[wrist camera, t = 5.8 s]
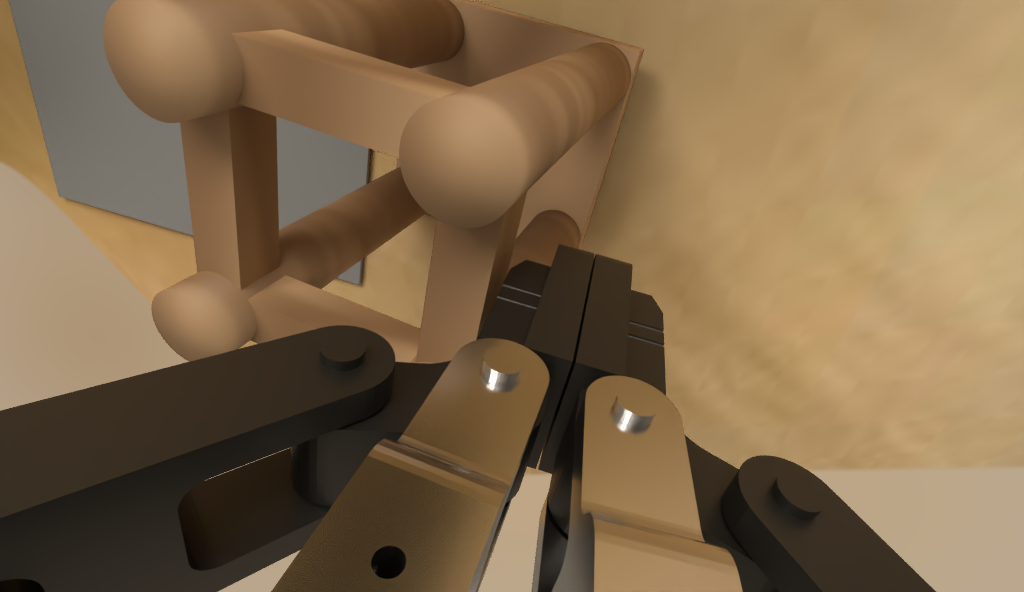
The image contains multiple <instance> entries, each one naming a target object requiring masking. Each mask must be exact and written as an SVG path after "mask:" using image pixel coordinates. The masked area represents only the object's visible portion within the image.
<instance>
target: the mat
mask: <svg viewBox="0 0 1024 592" xmlns="http://www.w3.org/2000/svg"><path fill="white" fill-rule="evenodd" d="M115 1H117V0H9V4H10V7H11V11H12V15H13V19H14V23H15V27H16V31H17V35H18V39H19V42H20V46H21V50H22V54H23V58H24V62H25V66H26V70H27V73H28V77H29V81H30V85H31V89H32V93H33V97H34V101H35V105H36V108H37V112H38V116H39V120H40V124H41V128H42V132H43V136H44V140H45V143H46V147H47V151H48V155H49V159H50V163H51V167H52V171H53V174H54V178H55V182H56V186H57V190H58V194H59V196H60V197H63V198H67V199H70V200H74V201H77V202H80V203H84V204H87V205H90V206H94V207H97V208H101V209H104V210H107V211H111V212H114V213H118V214H121V215H124V216H128V217H131V218H134V219H138V220H141V221H145V222H148V223H151V224H155V225H158V226H161V227H165V228H168V229H172V230H175V231H178V232H182V233H185V234H189V235H192V236H193V230H192V221H191V213H190V204H189V196H188V187H187V179H186V170H185V162H184V153H183V145H182V136H181V127H180V122H178V123H164V122H161V121H158V120H156V119H153V118H152V117H150V116H148V115H147V114H145V113H144V112H142V111H141V110H140V109H139V108H138V107H137V106H135V104H134V103H133V102H132V101H131V100H130V99H129V98H128V97H127V95H126V94H125V93H124V91H123V90H122V88H121V87H120V85H119V84H118V82H117V80H116V78H115V76H114V74H113V72H112V70H111V68H110V65H109V62H108V59H107V56H106V52H105V47H104V40H103V27H104V21H105V17H106V14H107V11H108V10H109V8H110V6H111V5H112V4H113V3H114V2H115ZM276 120H277V166H278V211H279V230H280V229H282V228H284V227H286V226H288V225H290V224H291V223H293V222H295V221H297V220H299V219H301V218H303V217H305V216H307V215H309V214H311V213H312V212H314V211H316V210H318V209H320V208H322V207H324V206H326V205H328V204H330V203H332V202H334V201H335V200H337V199H339V198H341V197H343V196H345V195H347V194H349V193H351V192H353V191H355V190H356V189H358V188H360V187H362V186H364V185H366V184H368V179H369V165H370V151H371V149H370V148H367V147H364V146H361V145H358V144H355V143H352V142H349V141H346V140H343V139H340V138H338V137H335V136H332V135H329V134H326V133H323V132H320V131H317V130H314V129H311V128H308V127H305V126H302V125H299V124H297V123H294V122H291V121H288V120H285V119H282V118H279V117H276ZM362 265H363V259H362V260H360V261H359V262H358V263H356V264H355V265H353V266H352V267H351V268H349V269H348V270H347V271H345V272H344V273H342V274H341V275H340V276H338V277H337V279H341V280H344V281H348V282H351V283H354V284H358V285H360V284H361V279H362Z"/></svg>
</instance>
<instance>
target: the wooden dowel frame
mask: <svg viewBox="0 0 1024 592" xmlns="http://www.w3.org/2000/svg"><path fill="white" fill-rule="evenodd" d="M103 40H104V47H105V52H106V56H107V59H108V62H109V65H110V68H111V70H112V72H113V74H114V76H115V78H116V80H117V82H118V84H119V85H120V87H121V88H122V90H123V91H124V93H125V94H126V95H127V97H128V98H129V99H130V100H131V101H132V102H133V103H134V104H135V106H137V107H138V108H139V109H140V110H141V111H142V112H144V113H145V114H147V115H148V116H150V117H152V118H153V119H156V120H158V121H161V122H164V123H178V122H180V127H181V136H182V145H183V153H184V162H185V170H186V179H187V187H188V196H189V204H190V213H191V221H192V230H193V238H194V247H195V255H196V264H197V272H198V273H196V274H194V275H192V276H190V277H188V278H186V279H184V280H182V281H181V282H179V283H177V284H175V285H173V286H171V287H169V288H167V289H165V290H163V291H161V292H160V293H158V294H157V295H156V296H155V297H154V299H153V301H152V316H153V320H154V322H155V325H156V327H157V329H158V331H159V333H160V334H161V336H162V337H163V339H164V340H165V341H166V343H168V345H169V346H170V347H171V348H172V349H173V350H174V351H175V352H176V353H178V354H179V355H180V356H181V357H183V358H184V359H186V360H188V361H189V362H191V361H195V360H198V359H202V358H206V357H210V356H214V355H218V354H222V353H225V352H229V351H233V350H237V349H239V348H240V347H241V346H243V345H244V344H245V343H247V342H248V341H250V340H251V341H253V342H256V343H258V344H260V343H264V342H268V341H272V340H276V339H279V338H283V337H287V336H291V335H295V334H299V333H303V332H306V331H310V330H314V329H318V328H322V327H327V326H335V325H349V326H357V327H361V328H365V329H368V330H371V331H373V332H375V333H377V334H379V335H380V336H382V337H383V338H385V339H386V340H387V341H388V342H389V343H390V345H391V346H392V348H393V350H394V353H395V359H396V360H395V362H409V363H427V364H432V363H441V362H446V361H450V360H452V359H453V358H454V356H455V354H456V353H457V352H458V351H459V349H460V348H461V347H463V346H464V345H466V344H468V343H470V342H472V341H475V340H476V339H477V337H478V335H479V333H480V331H481V329H482V327H483V325H484V322H485V320H486V318H487V316H488V314H489V312H490V310H491V308H492V306H493V304H494V301H495V299H496V298H497V296H498V293H499V291H500V289H501V287H502V286H503V283H504V281H505V278H506V276H507V274H508V272H509V270H510V269H511V268H512V267H514V266H516V265H518V264H519V263H521V262H523V261H525V260H530V261H533V262H536V263H540V264H543V265H547V266H550V267H551V265H552V262H553V260H554V257H555V254H556V251H557V248H558V245H559V244H562V245H566V246H569V247H573V248H576V249H580V250H581V246H582V243H583V240H584V237H585V234H586V231H587V227H588V224H589V221H590V218H591V215H592V212H593V209H594V205H595V202H596V199H597V196H598V193H599V190H600V187H601V183H602V180H603V177H604V174H605V171H606V168H607V165H608V161H609V158H610V155H611V152H612V149H613V146H614V142H615V139H616V136H617V133H618V130H619V127H620V124H621V120H622V117H623V114H624V111H625V108H626V105H627V102H628V98H629V95H630V92H631V89H632V86H633V83H634V79H635V76H636V73H637V70H638V67H639V64H640V61H641V57H642V54H643V51H644V49H642V48H638V47H635V46H631V45H628V44H624V43H620V42H617V41H613V40H610V39H606V38H602V37H599V36H595V35H592V34H588V33H584V32H581V31H577V30H574V29H570V28H566V27H563V26H559V25H556V24H552V23H549V22H545V21H541V20H538V19H534V18H531V17H527V16H523V15H520V14H516V13H513V12H509V11H505V10H502V9H498V8H495V7H491V6H487V5H484V4H480V3H477V2H473V1H469V0H117V1H115V2H114V3H113V4H112V5H111V6H110V8H109V10H108V11H107V14H106V17H105V21H104V27H103ZM276 117H279V118H282V119H285V120H288V121H291V122H294V123H297V124H299V125H302V126H305V127H308V128H311V129H314V130H317V131H320V132H323V133H326V134H329V135H332V136H335V137H338V138H340V139H343V140H346V141H349V142H352V143H355V144H358V145H361V146H364V147H367V148H370V149H373V150H376V151H378V152H381V153H384V154H387V155H390V156H393V157H396V158H397V167H396V169H395V170H393V171H391V172H389V173H387V174H385V175H383V176H381V177H379V178H377V179H376V180H374V181H372V182H370V183H368V184H366V185H364V186H362V187H360V188H358V189H356V190H355V191H353V192H351V193H349V194H347V195H345V196H343V197H341V198H339V199H337V200H335V201H334V202H332V203H330V204H328V205H326V206H324V207H322V208H320V209H318V210H316V211H314V212H312V213H311V214H309V215H307V216H305V217H303V218H301V219H299V220H297V221H295V222H293V223H291V224H290V225H288V226H286V227H284V228H282V229H280V230H279V211H278V166H277V120H276ZM424 214H427V215H430V216H432V217H434V218H435V219H437V224H436V230H435V237H434V243H433V250H432V257H431V263H430V270H429V277H428V283H427V290H426V296H425V303H424V310H423V316H422V323H421V329H419V328H417V327H414V326H412V325H409V324H407V323H404V322H402V321H399V320H397V319H394V318H392V317H389V316H387V315H384V314H382V313H379V312H377V311H374V310H372V309H369V308H367V307H364V306H362V305H359V304H357V303H354V302H352V301H349V300H347V299H344V298H342V297H339V296H337V295H334V294H332V293H329V292H327V291H324V290H322V288H323V287H324V286H326V285H327V284H329V283H330V282H331V281H333V280H334V279H335V278H337V277H338V276H340V275H341V274H342V273H344V272H345V271H347V270H348V269H349V268H351V267H352V266H353V265H355V264H356V263H358V262H359V261H360V260H362V259H363V258H365V257H366V256H367V255H369V254H370V253H371V252H373V251H374V250H376V249H377V248H378V247H380V246H381V245H383V244H384V243H385V242H387V241H388V240H389V239H391V238H392V237H394V236H395V235H396V234H398V233H399V232H401V231H402V230H403V229H405V228H406V227H407V226H409V225H410V224H412V223H413V222H414V221H416V220H417V219H419V218H420V217H421V216H423V215H424Z"/></svg>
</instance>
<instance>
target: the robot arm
mask: <svg viewBox="0 0 1024 592" xmlns="http://www.w3.org/2000/svg"><path fill="white" fill-rule="evenodd" d="M593 259H594V260H593ZM631 281H632V264H629V263H626V262H622V261H619V260H615V259H612V258H608V257H605V256H601V255H598V254H596V255H595V258H594V253H590V252H587V251H583V250H580V249H576V248H573V247H569V246H566V245H562V244H559V245H558V248H557V251H556V254H555V257H554V260H553V262H552V265H551V267H550V266H547V265H543V264H540V263H536V262H533V261H530V260H525V261H523V262H521V263H519V264H518V265H516V266H514V267H512V268H511V269H510V270H509V272H508V274H507V276H506V278H505V281H504V283H503V286H502V287H501V289H500V291H499V293H498V296H497V298H496V299H495V301H494V304H493V306H492V308H491V310H490V312H489V314H488V316H487V318H486V320H485V322H484V325H483V327H482V329H481V331H480V333H479V335H478V337H477V339H476V340H475V341H472V342H470V343H468V344H466V345H464V346H463V347H461V348H460V349H459V351H458V352H457V353H456V354H455V356H454V358H453V359H452V360H450V361H446V362H441V363H432V364H427V363H409V362H395V360H396V359H395V353H394V350H393V348H392V346H391V345H390V343H389V342H388V341H387V340H386V339H385V338H383V337H382V336H380V335H379V334H377V333H375V332H373V331H371V330H368V329H365V328H361V327H357V326H349V325H335V326H327V327H322V328H318V329H314V330H310V331H306V332H303V333H299V334H295V335H291V336H287V337H283V338H279V339H276V340H272V341H268V342H264V343H260V344H256V345H252V346H249V347H245V348H241V349H237V350H233V351H229V352H225V353H222V354H218V355H214V356H210V357H206V358H202V359H198V360H195V361H191V362H187V363H183V364H179V365H176V366H171V367H168V368H164V369H160V370H156V371H152V372H148V373H145V374H141V375H137V376H133V377H129V378H125V379H121V380H118V381H114V382H110V383H106V384H102V385H98V386H94V387H90V388H87V389H83V390H79V391H75V392H71V393H67V394H64V395H60V396H56V397H52V398H48V399H44V400H40V401H36V402H33V403H29V404H25V405H21V406H17V407H13V408H9V409H6V410H2V411H0V592H217V591H219V590H221V589H223V588H225V587H227V586H229V585H231V584H233V583H235V582H237V581H239V580H241V579H243V578H245V577H247V576H249V575H251V574H253V573H255V572H257V571H259V570H261V569H263V568H265V567H267V566H269V565H271V564H273V563H275V562H277V561H279V560H281V559H283V558H285V557H287V556H289V555H291V554H293V553H295V552H297V551H299V550H300V552H299V553H298V555H297V556H296V557H295V559H294V560H293V562H292V563H291V564H290V566H289V568H288V569H287V570H286V572H285V573H284V574H283V576H282V577H281V579H280V580H279V581H278V583H277V584H276V586H275V587H274V589H273V590H272V591H271V592H478V591H479V588H480V585H481V582H482V580H483V577H484V574H485V571H486V568H487V566H488V563H489V561H490V558H491V555H492V552H493V550H494V547H495V544H496V541H497V539H498V536H499V533H500V530H501V528H502V525H503V522H504V519H505V517H506V514H507V511H508V509H509V506H510V502H511V499H512V498H513V497H514V496H515V495H516V494H517V492H518V490H519V488H520V485H521V482H522V479H523V476H524V473H525V470H526V467H527V466H528V467H531V468H534V469H536V466H537V464H538V461H539V458H540V455H541V452H542V455H541V460H540V464H539V469H538V470H542V471H545V472H548V473H551V474H552V478H551V483H550V488H549V492H548V495H547V497H546V500H545V503H544V506H543V508H542V511H541V515H540V521H539V530H538V540H537V548H536V557H535V566H534V574H533V583H532V592H936V591H935V590H934V589H933V588H932V587H931V586H929V585H928V584H927V583H926V582H925V581H924V580H923V579H922V578H921V577H920V576H919V575H918V574H917V573H916V572H915V571H914V570H913V569H912V568H911V567H910V566H909V565H908V564H907V563H906V562H905V561H904V560H903V559H902V558H901V557H900V556H899V555H898V554H897V553H896V552H895V551H894V550H893V549H892V548H891V547H890V546H888V545H887V543H886V542H885V541H883V540H882V539H881V538H880V537H879V536H878V535H877V534H876V533H875V532H874V531H873V530H872V529H871V528H870V527H869V526H868V525H867V524H866V523H865V522H864V521H863V520H862V519H861V518H860V517H859V516H858V515H857V514H856V513H855V512H854V511H853V510H852V509H851V508H850V507H849V506H848V505H847V504H846V503H845V502H844V501H843V500H841V498H840V497H838V496H837V495H836V494H835V493H834V492H833V491H832V490H831V489H830V488H829V487H828V486H827V485H826V484H825V483H824V482H823V481H822V480H820V479H819V478H818V477H816V476H815V475H814V474H812V473H811V472H809V471H808V470H806V469H805V468H803V467H801V466H799V465H797V464H795V463H793V462H791V461H788V460H785V459H782V458H779V457H774V456H756V457H752V458H750V459H748V460H746V461H745V462H744V463H743V464H742V466H741V467H740V469H737V468H735V467H734V466H732V465H730V464H728V463H727V462H725V461H723V460H721V459H719V458H718V457H716V456H714V455H712V454H711V453H709V452H707V451H706V450H704V449H702V448H701V447H699V446H698V445H696V444H695V443H694V442H693V441H691V440H690V439H689V438H688V437H687V436H686V435H685V434H684V428H683V423H682V419H681V416H680V414H679V411H678V409H677V408H676V407H675V405H674V404H673V403H672V402H671V400H670V399H669V398H668V397H667V396H666V384H665V356H664V347H663V346H664V333H663V330H664V328H663V313H662V311H661V309H660V308H659V306H658V305H657V303H656V302H655V300H654V299H653V297H652V296H650V295H647V294H644V293H640V292H637V291H633V290H631ZM543 446H544V447H543ZM290 447H291V448H290ZM287 448H289V449H287ZM284 449H286V450H284ZM542 449H543V451H542ZM282 450H284V451H282ZM279 451H281V452H279ZM277 452H278V453H277ZM274 453H276V454H274ZM271 454H273V455H271ZM269 455H271V456H269ZM266 456H268V457H266ZM263 457H266V458H263ZM261 458H263V459H261ZM258 459H260V460H258ZM256 460H258V461H256ZM253 461H255V462H253ZM250 462H252V463H250ZM248 463H250V464H248ZM245 464H247V465H245ZM243 465H245V466H243ZM240 466H242V467H240ZM237 467H240V468H237ZM235 468H237V469H235ZM232 469H234V470H232ZM230 470H232V471H230ZM227 471H229V472H227ZM224 472H226V473H224ZM222 473H224V474H222ZM219 474H221V475H219ZM217 475H219V476H217ZM214 476H216V477H214ZM211 477H214V478H211ZM209 478H211V479H209ZM207 479H208V480H207ZM205 480H206V481H205Z"/></svg>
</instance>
